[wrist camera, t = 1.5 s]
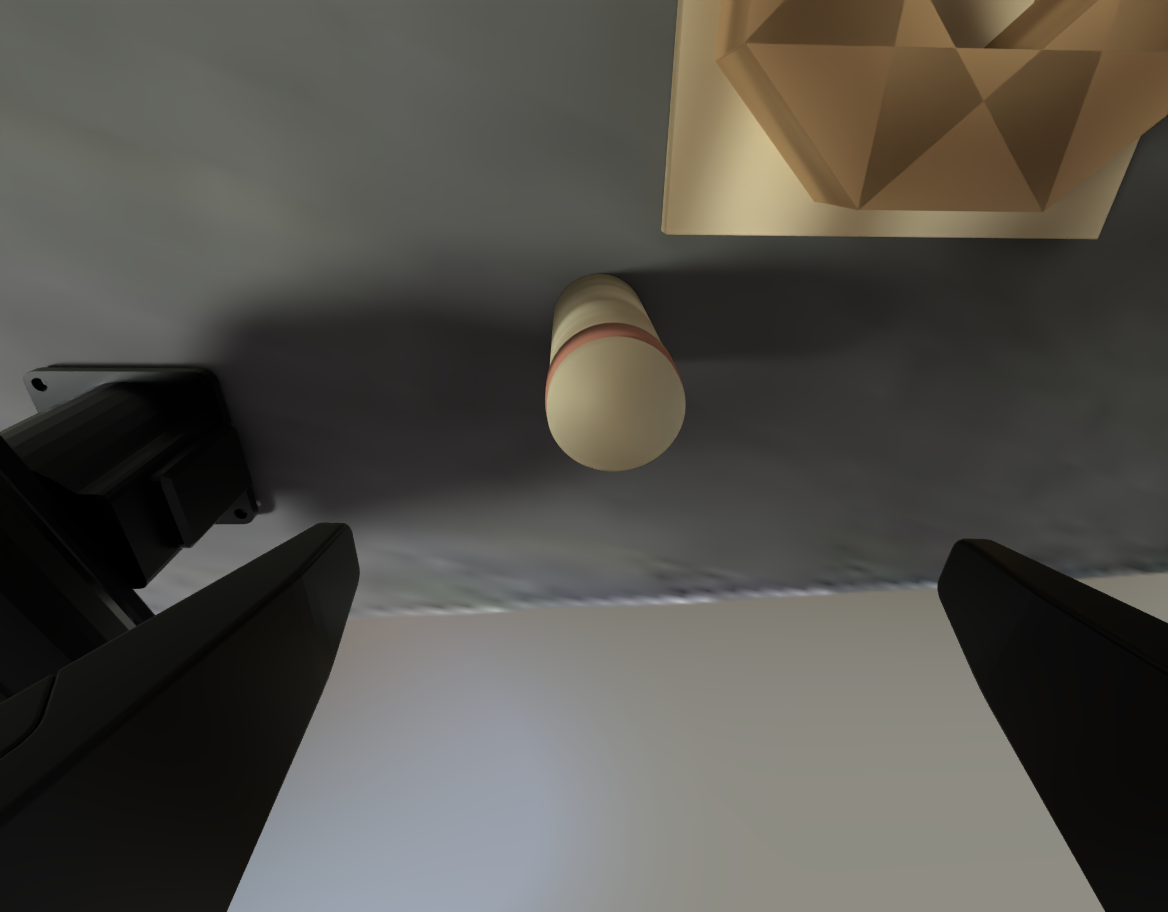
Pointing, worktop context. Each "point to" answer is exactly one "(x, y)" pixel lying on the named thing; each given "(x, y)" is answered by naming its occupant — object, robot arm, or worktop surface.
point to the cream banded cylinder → (610, 378)
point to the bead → (946, 97)
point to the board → (776, 196)
